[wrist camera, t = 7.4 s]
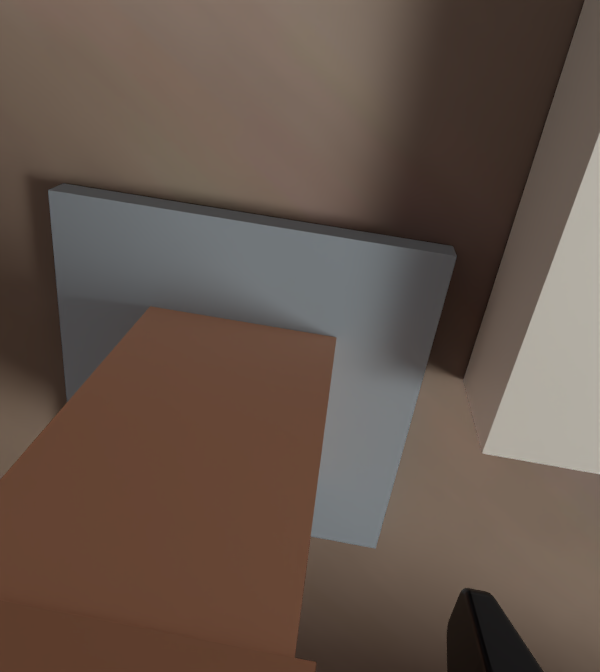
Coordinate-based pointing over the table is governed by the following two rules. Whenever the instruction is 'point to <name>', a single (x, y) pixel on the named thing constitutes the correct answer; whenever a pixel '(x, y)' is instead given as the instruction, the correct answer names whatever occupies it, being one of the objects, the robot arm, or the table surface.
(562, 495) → the table surface
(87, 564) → the plug
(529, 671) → the robot arm
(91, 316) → the pad
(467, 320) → the table surface
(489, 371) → the white flat block
